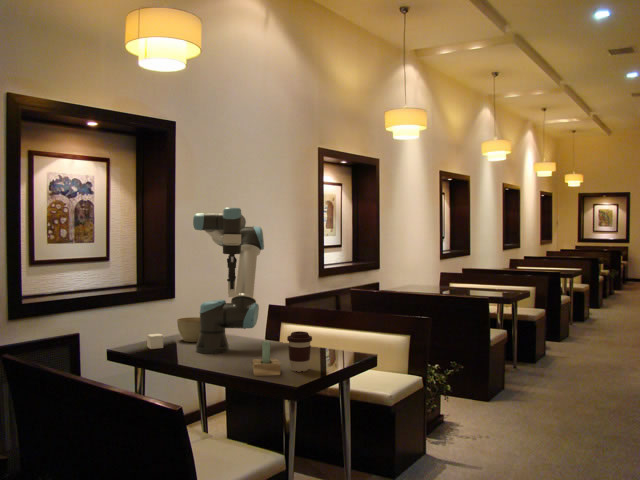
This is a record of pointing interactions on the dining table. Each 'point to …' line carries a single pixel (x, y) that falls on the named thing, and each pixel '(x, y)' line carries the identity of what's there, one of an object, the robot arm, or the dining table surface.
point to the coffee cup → (299, 351)
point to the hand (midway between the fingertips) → (231, 295)
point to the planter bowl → (189, 328)
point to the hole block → (266, 367)
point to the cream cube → (154, 341)
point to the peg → (266, 352)
